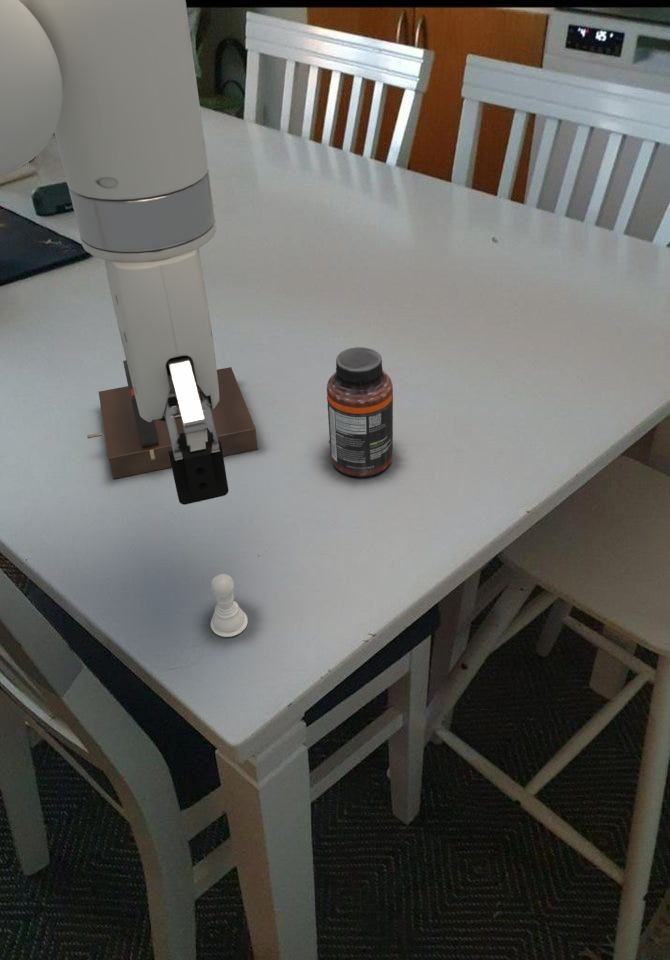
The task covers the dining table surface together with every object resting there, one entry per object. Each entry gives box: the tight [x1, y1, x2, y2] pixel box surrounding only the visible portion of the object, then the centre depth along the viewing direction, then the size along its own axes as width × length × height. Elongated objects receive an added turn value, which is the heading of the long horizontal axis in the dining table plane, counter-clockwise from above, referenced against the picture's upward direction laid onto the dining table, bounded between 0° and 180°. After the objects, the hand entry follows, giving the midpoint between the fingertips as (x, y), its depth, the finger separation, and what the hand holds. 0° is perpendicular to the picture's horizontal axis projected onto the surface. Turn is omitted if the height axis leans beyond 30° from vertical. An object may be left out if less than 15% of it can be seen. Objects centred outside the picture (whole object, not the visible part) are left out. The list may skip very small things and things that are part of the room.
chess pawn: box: [210, 573, 249, 638], centre depth 61 cm, size 3×3×5 cm
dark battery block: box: [122, 359, 159, 448], centre depth 77 cm, size 7×2×6 cm, turn 17°
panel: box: [86, 366, 259, 480], centre depth 81 cm, size 16×14×3 cm
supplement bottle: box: [326, 346, 394, 478], centre depth 74 cm, size 6×6×11 cm
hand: (191, 453), depth 56 cm, fingers open, 9 cm apart
